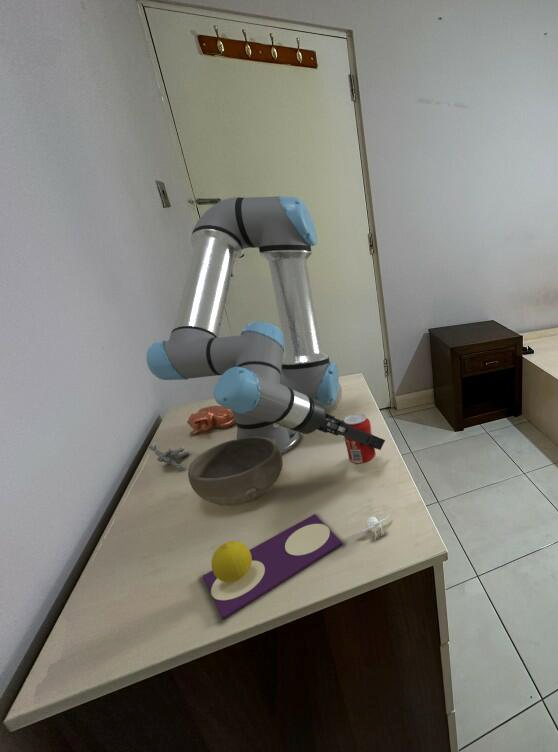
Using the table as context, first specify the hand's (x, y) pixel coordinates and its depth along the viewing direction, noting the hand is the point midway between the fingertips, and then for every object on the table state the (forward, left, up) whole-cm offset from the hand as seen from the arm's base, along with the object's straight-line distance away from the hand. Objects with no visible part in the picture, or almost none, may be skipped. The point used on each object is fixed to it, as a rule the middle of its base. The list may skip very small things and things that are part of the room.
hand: (372, 440), depth 102 cm
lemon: (+15, -36, -5) cm, 39 cm away
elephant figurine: (-39, -36, -6) cm, 53 cm away
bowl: (-12, -27, -6) cm, 30 cm away
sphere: (-38, +3, -6) cm, 38 cm away
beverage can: (+1, -4, -4) cm, 5 cm away
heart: (-53, -23, -6) cm, 58 cm away
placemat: (+15, -30, -6) cm, 34 cm away
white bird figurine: (+23, -14, -6) cm, 27 cm away
